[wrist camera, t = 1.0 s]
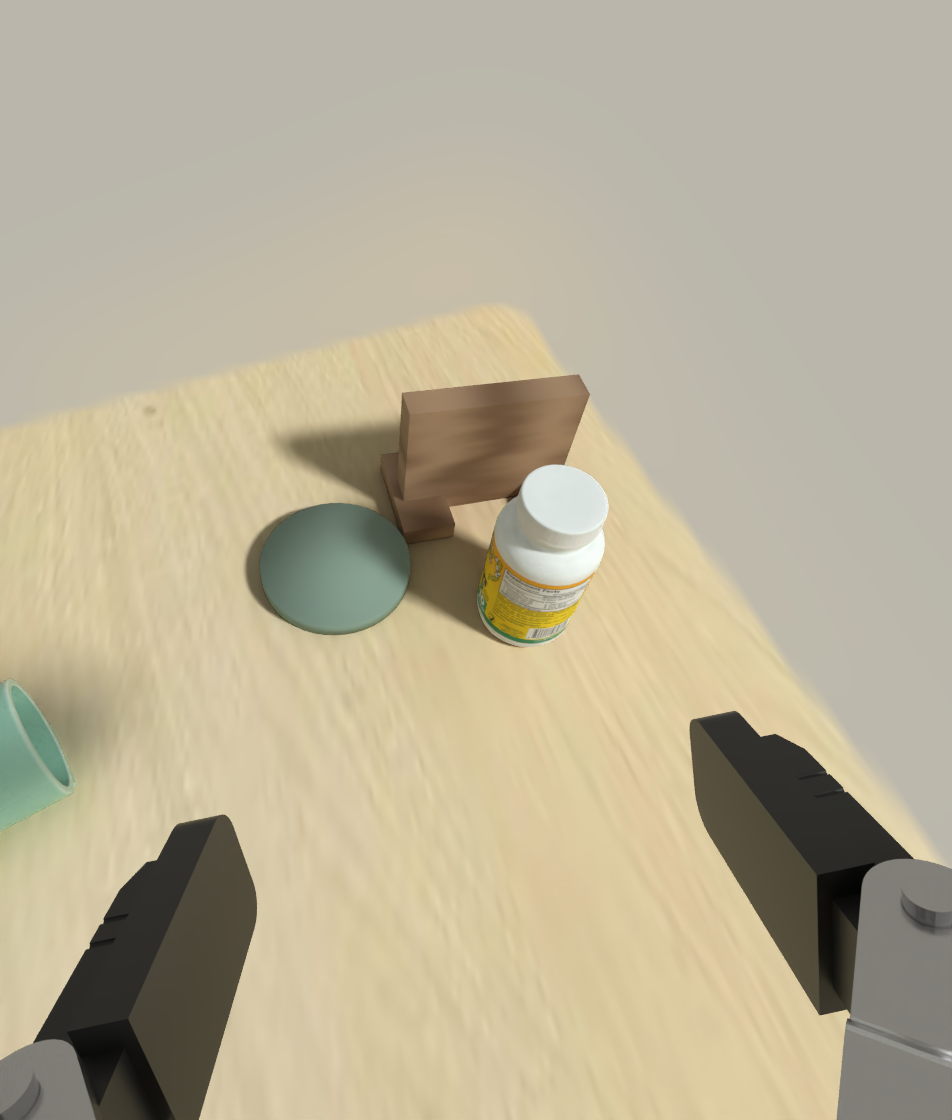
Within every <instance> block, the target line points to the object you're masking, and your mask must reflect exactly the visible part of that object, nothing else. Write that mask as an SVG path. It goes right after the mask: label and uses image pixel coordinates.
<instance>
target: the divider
mask: <svg viewBox="0 0 952 1120" xmlns="http://www.w3.org/2000/svg"><path fill="white" fill-rule="evenodd" d="M589 395H590V394H589V392H588V390H587V388H586V386H585V385H584V383H583V381H582V380H581V378H580V376H579V375H569V376H560V377H550V378H541V379H531V380H521V381H512V382H502V383H493V384H483V385H473V386H464V387H454V388H444V389H435V390H425V391H416V392H406V393H402V406H401V424H400V442H399V453H391V454H383V455H381V471H382V474H383V478H384V481H385V484H386V488H387V491H388V495H389V498H390V501H391V505H392V508H393V511H394V515H395V518H396V521H397V525H398V528H399V531H400V533H401V534H402V536H403V537H404V539H405V541H406V543H407V544H409V543H415V542H421V541H427V540H433V539H439V538H445V537H451V536H453V533H454V527H455V522H454V519H453V517H452V514H451V511H450V508H449V506H456V505H462V504H469V503H475V502H481V501H488V500H494V499H500V498H507V497H513V496H518V494H519V491H520V488H521V486H522V483H523V481H524V480H525V478H526V477H527V476H528V475H529V474H530V473H531V472H532V471H534V470H535V469H537V468H540V467H542V466H546V465H554V464H555V465H564V464H565V461H566V458H567V456H568V453H569V450H570V447H571V445H572V442H573V439H574V436H575V434H576V431H577V428H578V425H579V423H580V420H581V417H582V415H583V412H584V409H585V406H586V404H587V401H588V398H589Z"/></svg>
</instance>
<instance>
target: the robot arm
mask: <svg viewBox="0 0 952 1120" xmlns="http://www.w3.org/2000/svg"><path fill="white" fill-rule="evenodd" d="M690 740H691V752H692V763H693V774H694V786H695V795H696V801H697V805H698V809H699V812H700V816H701V818H702V821H703V823H704V826H705V828H706V830H707V832H708V834H709V835H710V837H711V839H712V840H713V842H714V844H715V845H716V847H717V848H718V850H719V852H720V853H721V855H722V857H723V858H724V860H725V862H726V863H727V865H728V866H729V868H730V870H731V871H732V873H733V875H734V876H735V878H736V880H737V881H738V883H739V884H740V886H741V888H742V889H743V891H744V893H745V894H746V896H747V898H748V899H749V901H750V902H751V904H752V906H753V907H754V909H755V911H756V912H757V914H758V916H759V917H760V919H761V920H762V922H763V924H764V925H765V927H766V929H767V930H768V932H769V933H770V935H771V937H772V938H773V940H774V942H775V943H776V945H777V947H778V948H779V950H780V951H781V953H782V955H783V956H784V958H785V960H786V961H787V963H788V965H789V966H790V968H791V969H792V971H793V973H794V974H795V976H796V978H797V979H798V981H799V983H800V984H801V986H802V987H803V989H804V991H805V992H806V994H807V996H808V997H809V999H810V1001H811V1002H812V1004H813V1005H814V1007H815V1009H816V1010H817V1012H818V1014H819V1015H824V1014H828V1013H833V1012H838V1011H842V1010H848V1011H849V1013H850V1019H847V1022H846V1029H845V1037H844V1047H843V1058H842V1069H841V1079H840V1090H839V1101H838V1111H837V1120H952V869H950V868H947V867H945V866H942V865H939V864H935V863H932V862H928V861H923V860H916V859H914V858H913V857H912V856H911V855H910V854H909V853H908V852H907V851H906V850H905V849H904V848H903V847H902V846H901V845H900V844H899V843H898V842H897V841H896V840H895V839H894V838H893V837H892V836H891V835H890V834H889V833H888V832H887V831H886V830H885V829H884V828H883V827H882V826H881V825H880V824H879V823H878V822H877V821H876V820H875V819H874V818H873V817H872V816H871V815H870V814H869V813H868V812H867V811H866V810H865V809H864V808H863V807H862V806H861V805H860V804H859V803H858V802H857V801H856V800H855V799H854V798H853V797H852V796H851V795H850V794H849V793H848V792H844V790H843V787H842V786H841V785H840V784H839V783H838V782H837V781H836V780H835V779H834V778H833V777H832V776H831V775H830V774H828V775H827V773H826V770H825V769H824V768H823V767H822V766H821V765H820V764H819V763H818V762H817V761H816V760H815V759H814V758H813V757H812V756H811V755H810V754H809V753H808V752H807V751H806V750H805V749H804V748H802V747H800V746H798V745H796V744H794V743H792V742H790V741H788V740H786V739H784V738H782V737H780V736H778V735H776V734H773V735H768V736H763V737H760V736H759V735H758V734H757V732H756V731H755V730H754V729H753V728H752V727H751V726H750V725H749V724H748V723H747V721H746V720H745V719H744V718H743V717H742V716H741V715H740V714H739V713H738V712H736V711H732V712H727V713H722V714H717V715H712V716H708V717H703V718H698V719H693V720H692V721H691V723H690ZM256 916H257V899H256V891H255V887H254V884H253V881H252V878H251V875H250V872H249V869H248V867H247V864H246V861H245V858H244V855H243V853H242V850H241V847H240V844H239V841H238V839H237V836H236V833H235V830H234V827H233V825H232V822H231V821H230V819H229V818H228V817H227V816H226V815H219V816H214V817H209V818H204V819H199V820H194V821H189V822H185V823H180V824H178V825H176V826H175V827H174V829H173V831H172V832H171V834H170V836H169V838H168V840H167V842H166V844H165V846H164V848H163V850H162V852H161V853H160V855H159V857H158V859H157V860H156V861H151V862H146V863H145V864H144V866H143V867H142V868H141V869H140V870H139V871H138V872H137V873H136V874H135V875H134V876H133V877H132V878H131V879H130V880H129V881H128V882H127V883H126V884H125V885H124V886H123V887H122V888H121V889H120V890H119V892H118V894H117V896H116V898H115V899H114V901H113V903H112V905H111V906H110V908H109V910H108V912H107V913H106V915H105V917H104V923H103V924H101V925H100V926H99V928H98V929H97V931H96V933H95V935H94V936H93V938H92V940H91V942H90V948H89V949H87V950H85V952H84V954H83V956H82V958H81V959H80V961H79V963H78V965H77V966H76V968H75V970H74V972H73V973H72V975H71V977H70V979H69V980H68V982H67V984H66V986H65V988H64V989H63V991H62V993H61V995H60V996H59V998H58V1000H57V1002H56V1003H55V1005H54V1007H53V1009H52V1011H51V1012H50V1014H49V1016H48V1018H47V1019H46V1021H45V1023H44V1025H43V1026H42V1028H41V1030H40V1032H39V1033H38V1035H37V1037H36V1039H35V1041H34V1042H33V1044H30V1045H28V1046H25V1047H23V1048H21V1049H19V1050H17V1051H15V1052H13V1053H12V1054H10V1055H9V1056H7V1057H5V1058H4V1059H2V1060H1V1061H0V1120H199V1117H200V1113H201V1110H202V1107H203V1103H204V1100H205V1096H206V1093H207V1089H208V1086H209V1083H210V1079H211V1076H212V1072H213V1069H214V1065H215V1062H216V1058H217V1055H218V1052H219V1048H220V1045H221V1041H222V1038H223V1034H224V1031H225V1028H226V1024H227V1021H228V1017H229V1014H230V1010H231V1007H232V1003H233V1000H234V997H235V993H236V990H237V986H238V983H239V979H240V976H241V973H242V969H243V966H244V962H245V959H246V955H247V952H248V948H249V945H250V942H251V938H252V935H253V931H254V928H255V923H256Z"/></svg>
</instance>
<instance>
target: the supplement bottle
mask: <svg viewBox="0 0 952 1120" xmlns="http://www.w3.org/2000/svg"><path fill="white" fill-rule="evenodd" d="M607 513H608V500H607V496H606V494H605V492H604V490H603V488H602V487H601V486H600V484H599V483H598V482H597V481H596V480H595V479H594V478H592V477H591V476H590V475H588V474H587V473H585V472H583V471H581V470H579V469H577V468H574V467H570V466H565V465H555V464H554V465H546V466H542V467H540V468H537V469H535V470H534V471H532V472H531V473H530V474H529V475H528V476H527V477H526V478H525V480H524V481H523V483H522V486H521V488H520V491H519V494H518V496H517V497H515V498H513V499H512V500H511V501H510V502H508V503H507V504H506V505H505V507H504V508H503V509H502V510H501V512H500V514H499V516H498V518H497V521H496V524H495V527H494V531H493V534H492V539H491V543H490V547H489V550H488V554H487V558H486V562H485V565H484V569H483V573H482V576H481V580H480V583H479V588H478V592H477V605H478V610H479V613H480V616H481V619H482V621H483V623H484V624H485V626H486V627H487V628H488V630H489V631H490V632H491V633H492V634H493V635H495V636H496V637H497V638H499V639H501V640H502V641H504V642H506V643H509V644H512V645H515V646H518V647H538V646H542V645H545V644H548V643H550V642H552V641H553V640H555V639H556V638H557V637H558V636H560V635H561V634H562V632H563V631H564V630H565V628H566V627H567V625H568V624H569V621H570V619H571V617H572V615H573V613H574V612H575V610H576V608H577V606H578V604H579V602H580V600H581V598H582V596H583V594H584V592H585V591H586V589H587V587H588V585H589V583H590V581H591V579H592V577H593V575H594V574H595V572H596V570H597V568H598V566H599V564H600V562H601V560H602V557H603V553H604V547H605V540H604V534H603V530H602V526H603V523H604V521H605V519H606V517H607Z"/></svg>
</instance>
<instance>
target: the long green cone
mask: <svg viewBox="0 0 952 1120" xmlns="http://www.w3.org/2000/svg"><path fill="white" fill-rule="evenodd" d="M74 786H76V782H75V779H74V777H73V774H72V772H71V770H70V767H69V765H68V763H67V760H66V758H65V756H64V753H63V751H62V749H61V746H60V744H59V741H58V739H57V737H56V734H55V732H54V730H53V728H52V727H51V725H50V724H49V723H48V721H47V720H46V718H45V716H44V715H43V713H42V712H41V710H40V709H39V707H38V706H37V704H36V703H35V702H34V700H33V699H32V698H31V696H30V695H29V694H28V693H27V692H26V690H25V689H24V688H23V687H22V686H21V685H20V684H19V683H17V682H16V681H15V680H13V679H10V678H9V679H6V680H4V681H3V682H1V683H0V831H2V830H4V829H6V828H8V827H10V826H12V825H14V824H16V823H17V822H19V821H21V820H23V819H25V818H27V817H29V816H31V815H32V814H34V813H36V812H38V811H40V810H42V809H44V808H46V807H47V806H49V805H51V804H53V803H55V802H57V801H59V800H61V799H63V798H64V797H66V796H68V795H70V794H72V793H73V791H74Z"/></svg>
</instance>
